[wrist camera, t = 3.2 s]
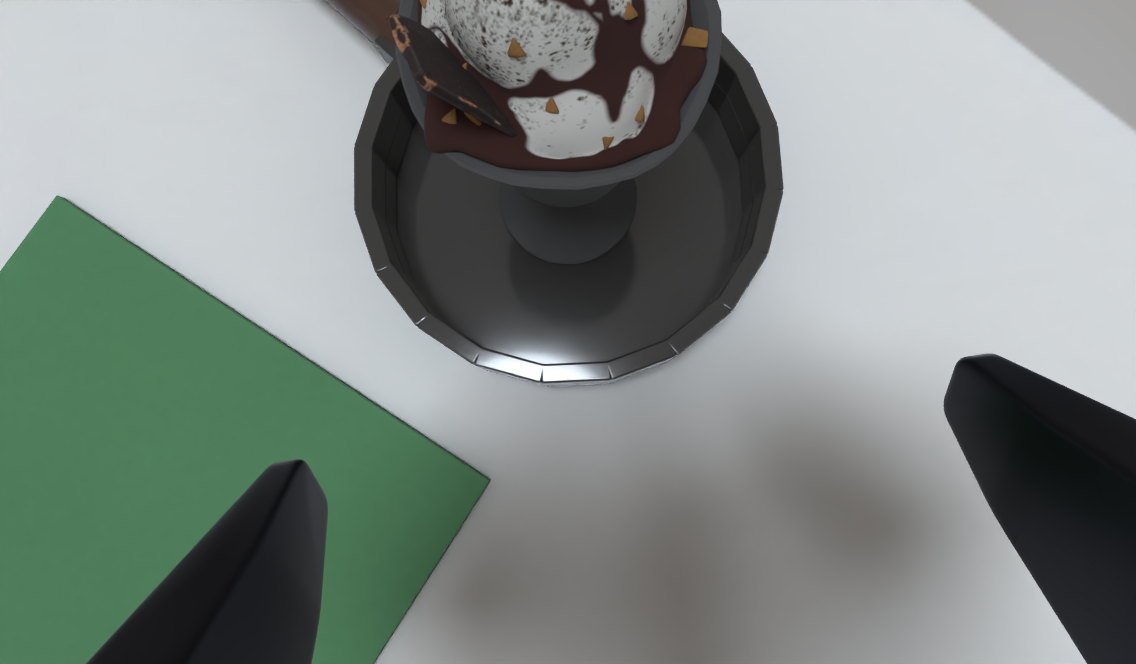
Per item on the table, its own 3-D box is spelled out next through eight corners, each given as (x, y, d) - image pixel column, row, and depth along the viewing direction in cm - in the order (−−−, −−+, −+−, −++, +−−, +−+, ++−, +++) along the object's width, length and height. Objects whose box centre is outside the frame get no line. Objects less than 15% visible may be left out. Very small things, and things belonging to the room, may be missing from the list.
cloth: (490, 479, 22) (489, 480, 22) (218, 906, 21) (213, 913, 20) (63, 197, 24) (56, 195, 23) (-218, 575, 22) (-229, 577, 22)
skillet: (741, 14, 24) (763, -42, 21) (771, 377, 22) (800, 371, 19) (381, 34, 24) (353, -19, 21) (384, 394, 23) (354, 392, 20)
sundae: (665, 113, 23) (812, -413, 8) (654, 294, 22) (797, 66, 8) (485, 102, 24) (320, -430, 9) (468, 281, 23) (253, 35, 8)
